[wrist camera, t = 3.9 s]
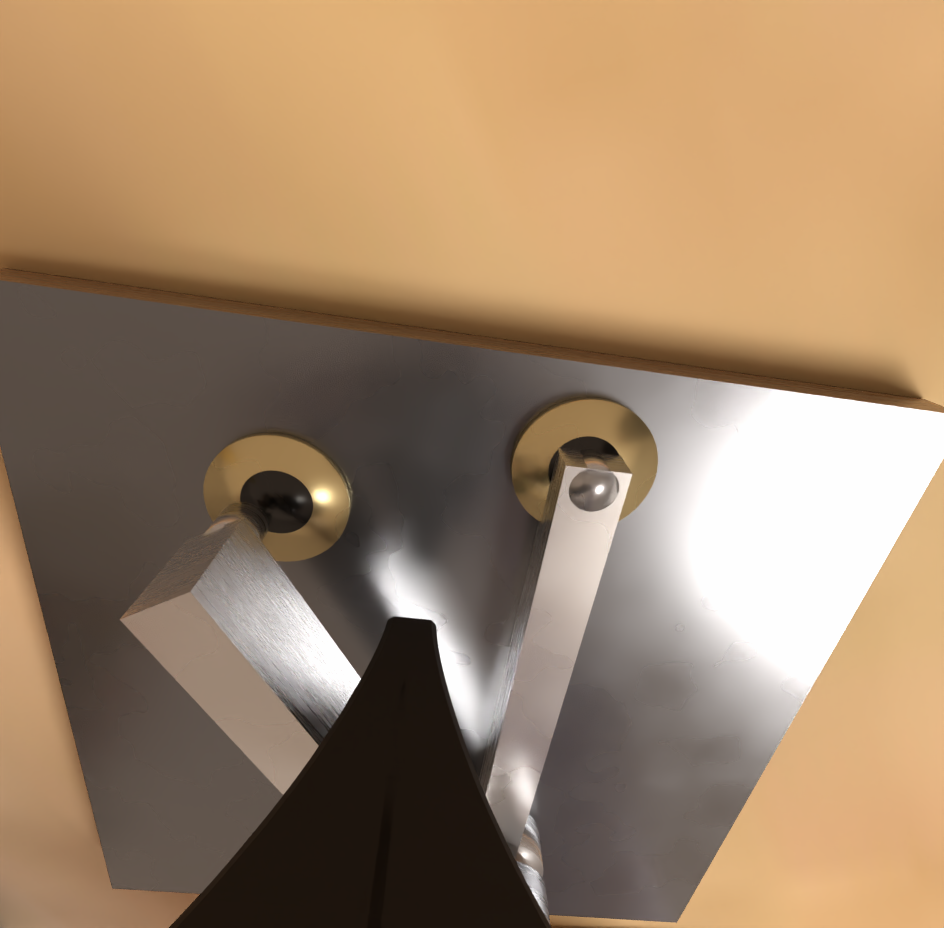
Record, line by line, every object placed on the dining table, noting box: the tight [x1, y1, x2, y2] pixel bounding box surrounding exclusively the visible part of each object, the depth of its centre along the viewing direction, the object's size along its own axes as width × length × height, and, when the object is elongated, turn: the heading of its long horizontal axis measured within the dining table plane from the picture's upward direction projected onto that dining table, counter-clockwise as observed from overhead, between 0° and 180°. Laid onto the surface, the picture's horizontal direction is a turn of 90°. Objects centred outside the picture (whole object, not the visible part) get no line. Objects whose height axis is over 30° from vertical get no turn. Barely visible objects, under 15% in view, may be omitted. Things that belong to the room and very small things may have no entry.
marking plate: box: [0, 268, 944, 922], centre depth 13 cm, size 18×18×2 cm
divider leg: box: [120, 502, 550, 924], centre depth 11 cm, size 14×3×3 cm, turn 23°
